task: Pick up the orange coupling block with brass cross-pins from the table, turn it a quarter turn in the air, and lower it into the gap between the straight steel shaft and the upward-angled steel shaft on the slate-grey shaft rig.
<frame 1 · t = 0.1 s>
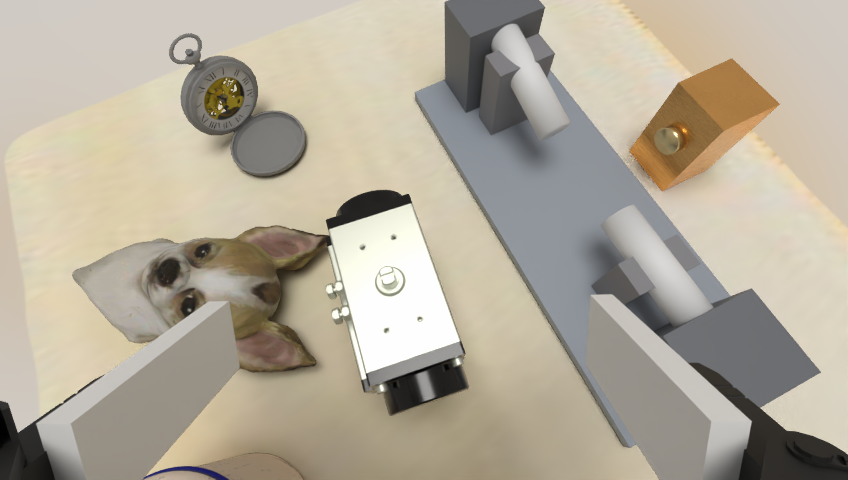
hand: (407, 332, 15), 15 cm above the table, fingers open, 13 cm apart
shaft rig: (564, 208, 33), on the table
pocket watch: (265, 141, 37), on the table
universal joint coupler: (667, 160, 34), on the table
pneumatic valve: (404, 324, 30), on the table
ceramic sculpture: (240, 302, 32), on the table
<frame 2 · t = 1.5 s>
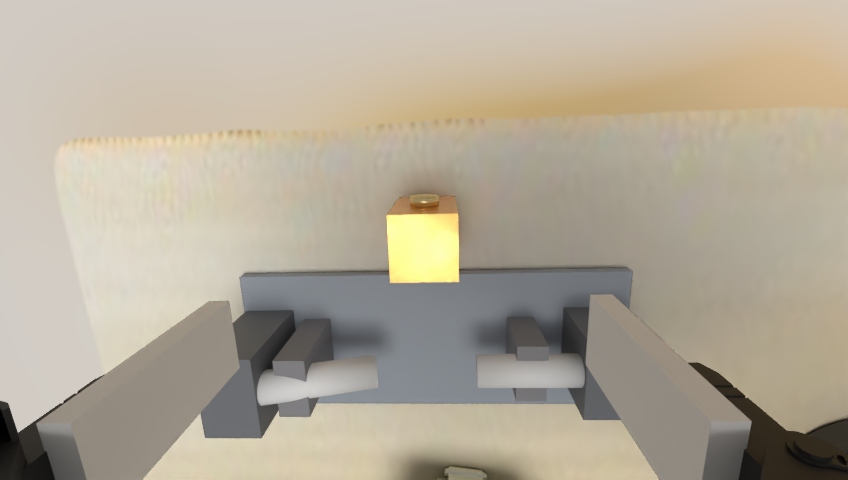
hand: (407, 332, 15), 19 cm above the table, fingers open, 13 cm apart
shaft rig: (430, 336, 35), on the table
universal joint coupler: (427, 223, 33), on the table
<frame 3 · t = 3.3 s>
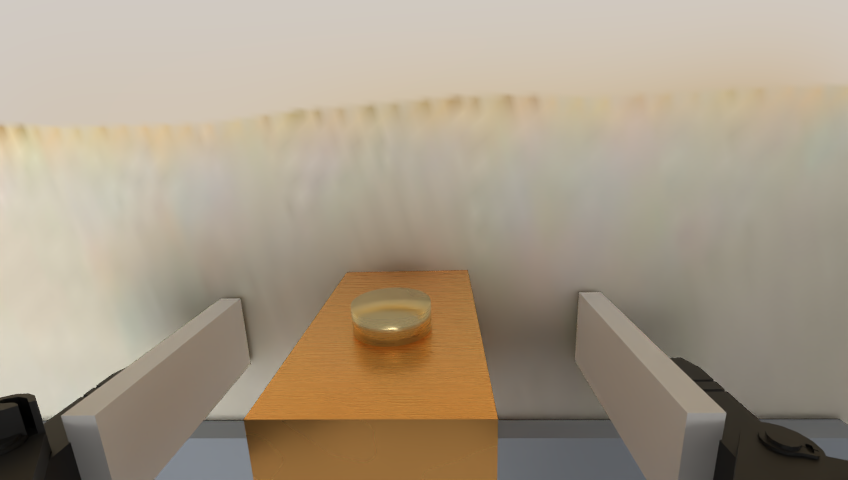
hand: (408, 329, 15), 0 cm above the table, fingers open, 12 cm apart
universal joint coupler: (409, 327, 15), on the table
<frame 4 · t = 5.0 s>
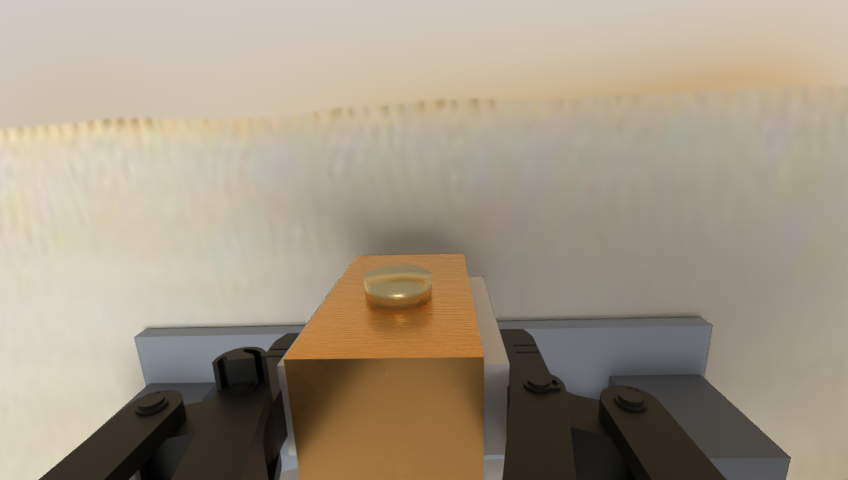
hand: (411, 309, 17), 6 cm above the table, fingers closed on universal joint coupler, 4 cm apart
shaft rig: (417, 412, 25), on the table
universal joint coupler: (412, 304, 17), point 6 cm above the table, touching gripper
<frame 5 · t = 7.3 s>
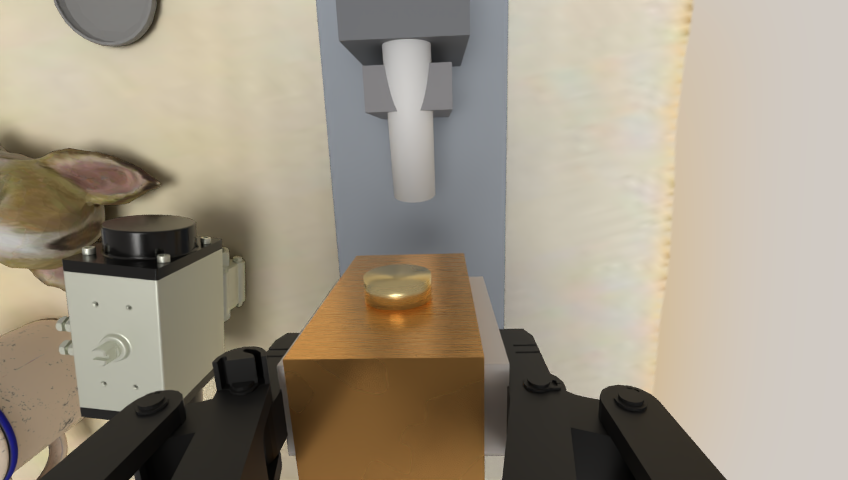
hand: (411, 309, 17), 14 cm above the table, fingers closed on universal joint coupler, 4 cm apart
shaft rig: (420, 237, 30), on the table
universal joint coupler: (412, 304, 17), point 13 cm above the table, touching gripper
teacup with lid: (73, 379, 34), on the table
pneumatic valve: (221, 275, 31), on the table
ceramic sculpture: (74, 201, 31), on the table
when the fingers open (1 cm above the table, at t = 9.6 s): universal joint coupler stays where it is, resting on shaft rig.
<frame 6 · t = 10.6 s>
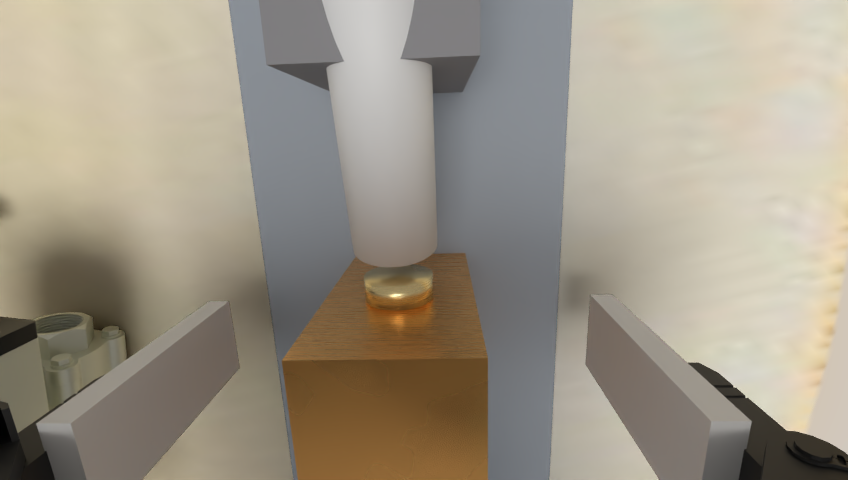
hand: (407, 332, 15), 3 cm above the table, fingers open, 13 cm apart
shaft rig: (413, 298, 18), on the table
universal joint coupler: (412, 305, 17), point 1 cm above the table, touching shaft rig
pneumatic valve: (91, 354, 19), on the table
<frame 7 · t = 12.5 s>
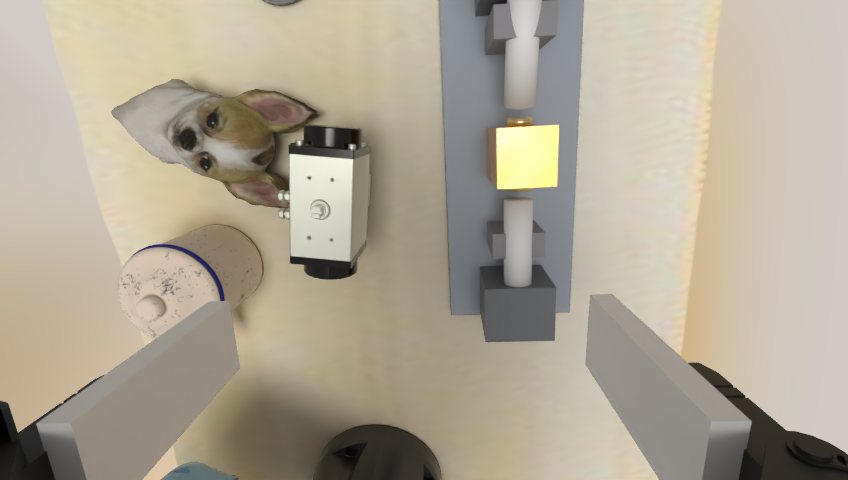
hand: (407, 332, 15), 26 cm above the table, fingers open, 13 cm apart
shaft rig: (508, 151, 38), on the table
universal joint coupler: (510, 151, 37), point 1 cm above the table, touching shaft rig
teacup with lid: (229, 275, 44), on the table
pneumatic valve: (349, 187, 40), on the table
ceramic sculpture: (244, 137, 40), on the table
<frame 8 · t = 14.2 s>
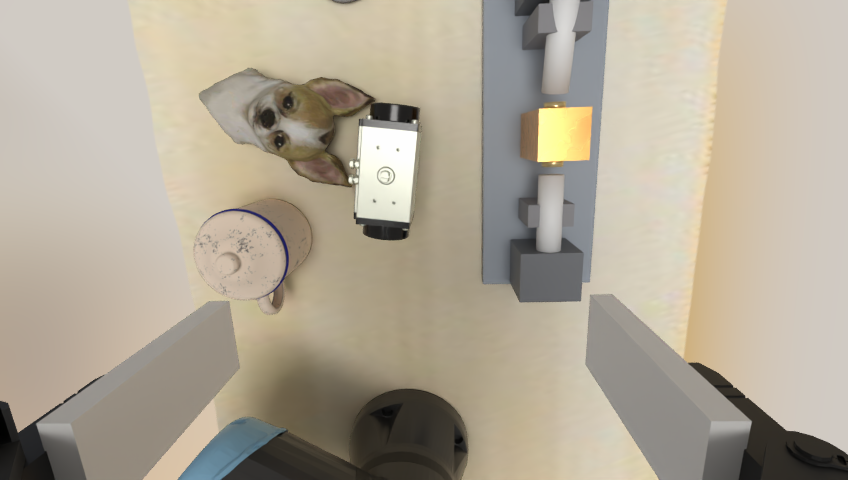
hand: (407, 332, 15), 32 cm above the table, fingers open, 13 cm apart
shaft rig: (539, 136, 43), on the table
universal joint coupler: (541, 135, 42), point 1 cm above the table, touching shaft rig
teacup with lid: (280, 246, 48), on the table
pneumatic valve: (395, 166, 45), on the table
ceramic sculpture: (302, 122, 44), on the table
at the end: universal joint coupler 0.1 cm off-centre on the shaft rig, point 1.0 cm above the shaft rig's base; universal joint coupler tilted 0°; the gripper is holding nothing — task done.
